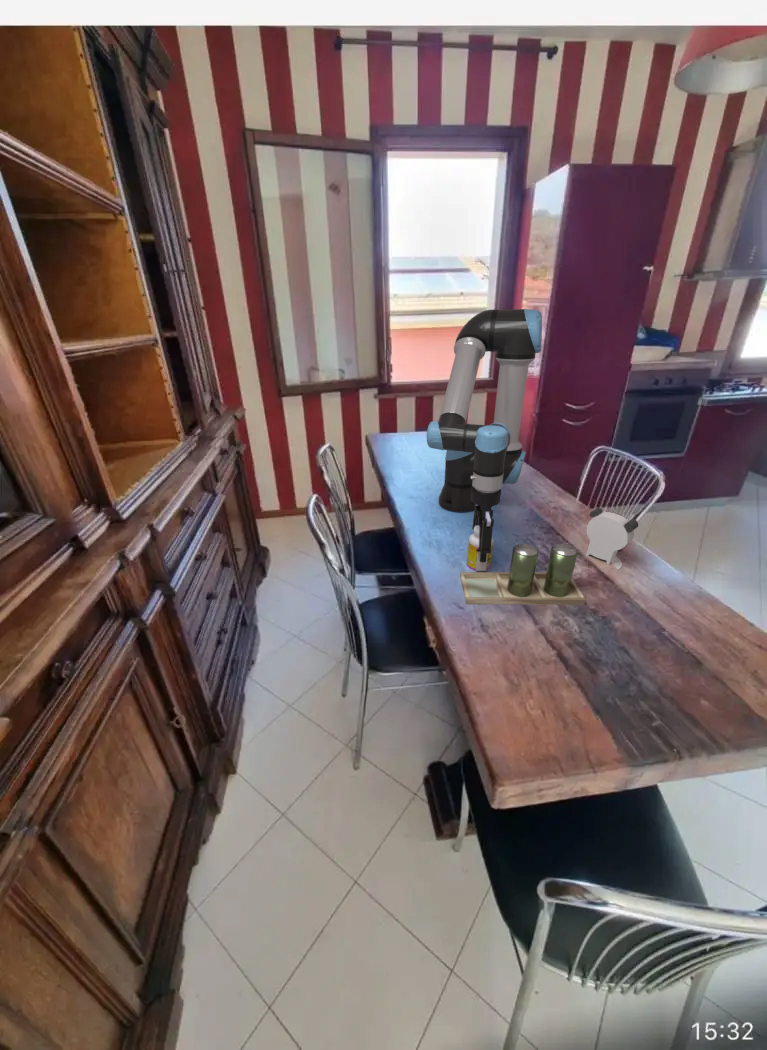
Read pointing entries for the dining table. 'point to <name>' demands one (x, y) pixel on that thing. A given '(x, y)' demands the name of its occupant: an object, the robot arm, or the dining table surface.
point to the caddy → (495, 592)
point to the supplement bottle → (472, 550)
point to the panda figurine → (609, 535)
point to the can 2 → (560, 570)
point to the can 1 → (522, 570)
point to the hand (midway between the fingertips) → (478, 562)
